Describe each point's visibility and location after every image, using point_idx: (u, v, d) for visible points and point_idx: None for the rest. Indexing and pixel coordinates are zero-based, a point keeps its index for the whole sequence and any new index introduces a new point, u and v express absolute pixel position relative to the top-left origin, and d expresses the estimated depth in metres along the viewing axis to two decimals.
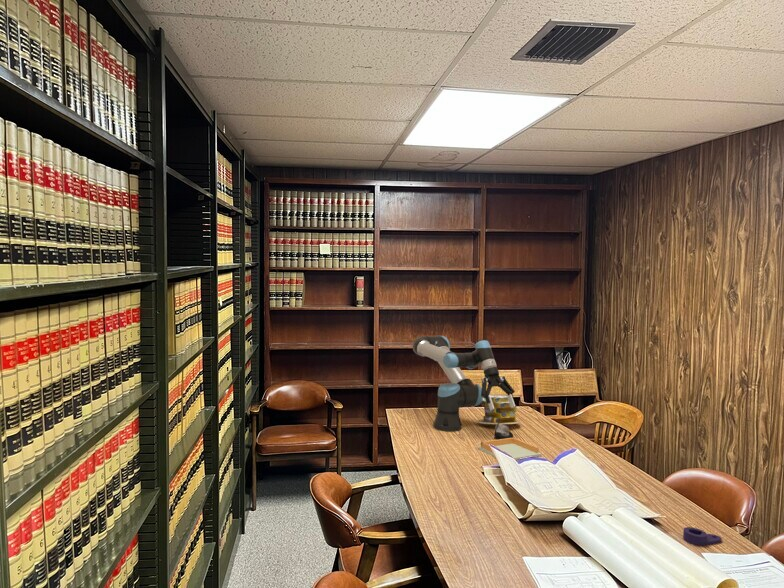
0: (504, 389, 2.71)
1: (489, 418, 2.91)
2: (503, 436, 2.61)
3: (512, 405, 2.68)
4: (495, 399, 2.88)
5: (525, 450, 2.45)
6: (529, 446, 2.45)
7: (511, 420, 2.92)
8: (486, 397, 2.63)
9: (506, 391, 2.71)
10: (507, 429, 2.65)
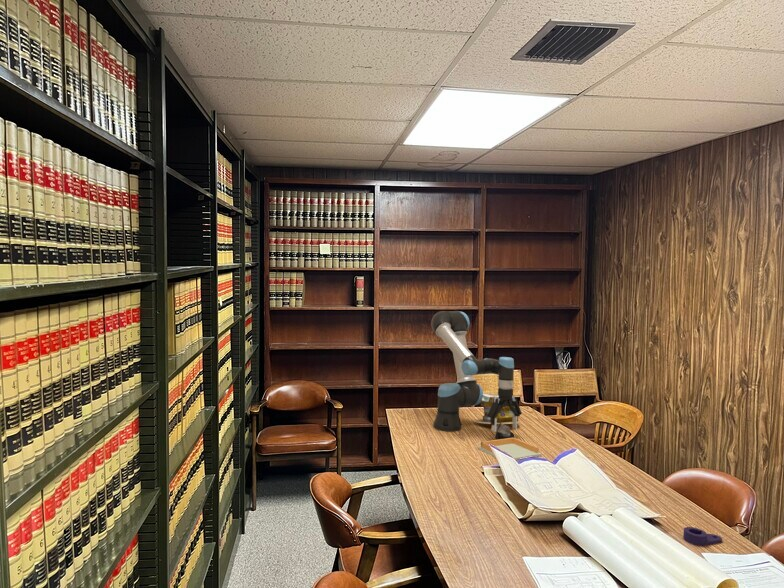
0: (512, 410, 2.68)
1: (488, 418, 2.91)
2: (504, 436, 2.61)
3: (514, 427, 2.68)
4: None
5: (525, 450, 2.45)
6: (529, 446, 2.45)
7: (510, 420, 2.92)
8: (492, 419, 2.61)
9: (513, 412, 2.68)
10: (508, 429, 2.65)
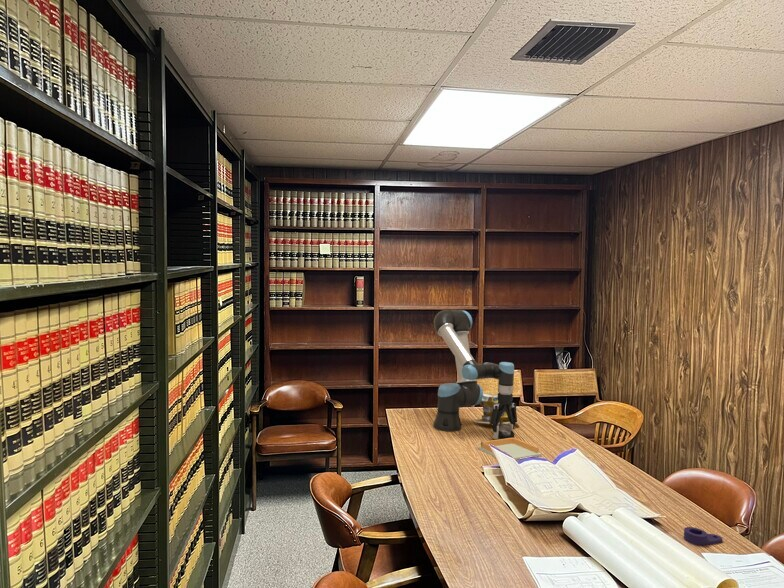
0: (509, 416, 2.67)
1: (487, 417, 2.92)
2: (504, 435, 2.61)
3: None
4: (493, 399, 2.89)
5: (525, 450, 2.45)
6: (529, 446, 2.45)
7: None
8: (494, 426, 2.63)
9: (510, 419, 2.68)
10: (509, 428, 2.65)
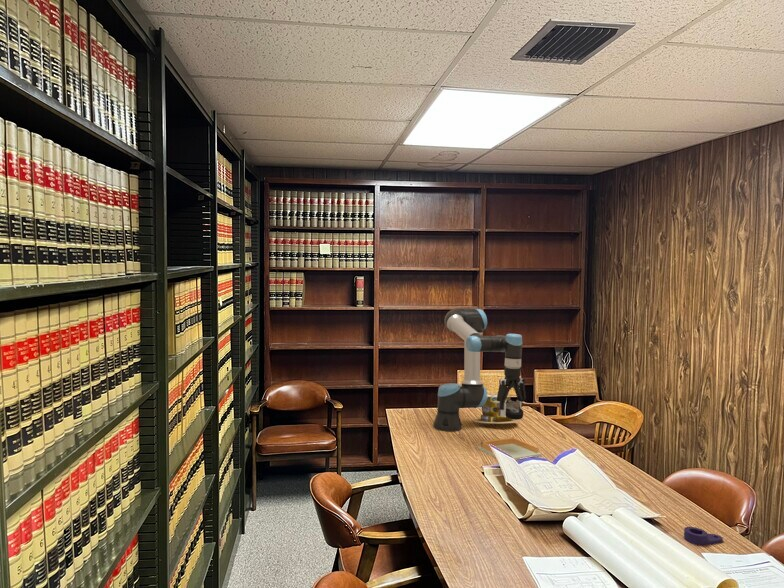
0: (517, 393, 2.45)
1: (486, 417, 2.92)
2: (512, 412, 2.39)
3: None
4: (492, 398, 2.90)
5: (525, 450, 2.45)
6: (529, 446, 2.45)
7: (508, 419, 2.93)
8: (501, 403, 2.41)
9: (518, 396, 2.46)
10: (517, 405, 2.43)
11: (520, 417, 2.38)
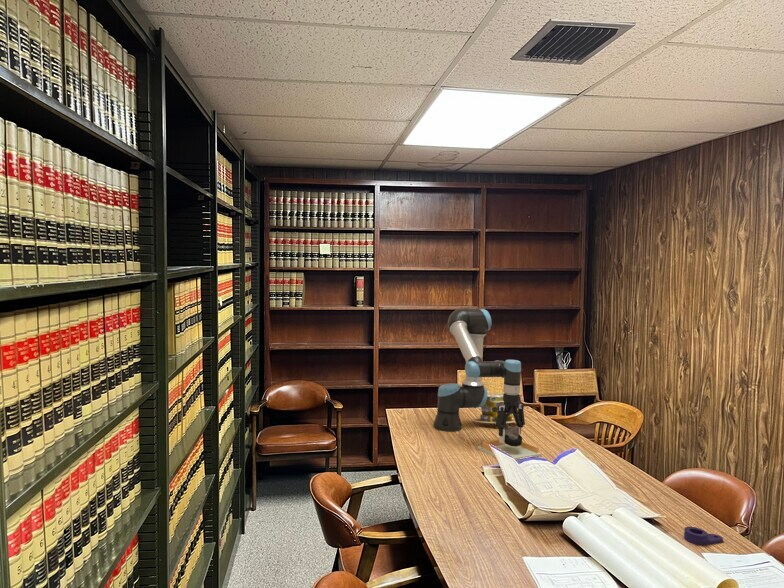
0: (516, 419, 2.46)
1: (485, 417, 2.93)
2: (511, 439, 2.39)
3: None
4: (491, 398, 2.90)
5: (525, 450, 2.45)
6: (529, 446, 2.45)
7: (507, 419, 2.94)
8: (500, 430, 2.41)
9: (517, 421, 2.46)
10: (516, 432, 2.43)
11: (519, 444, 2.39)
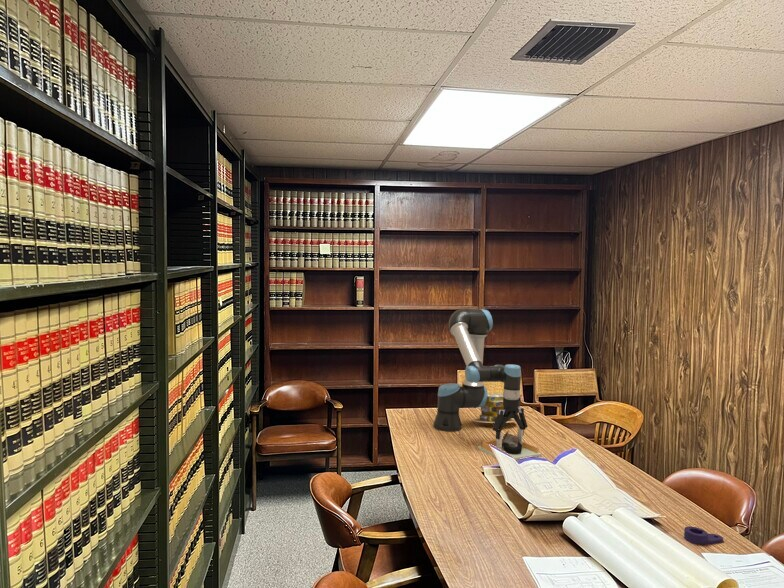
0: (517, 422, 2.46)
1: (485, 417, 2.93)
2: (510, 447, 2.39)
3: (519, 441, 2.47)
4: (491, 398, 2.90)
5: (525, 450, 2.45)
6: (529, 446, 2.45)
7: None
8: (497, 433, 2.40)
9: (519, 424, 2.47)
10: (516, 439, 2.43)
11: (519, 451, 2.39)
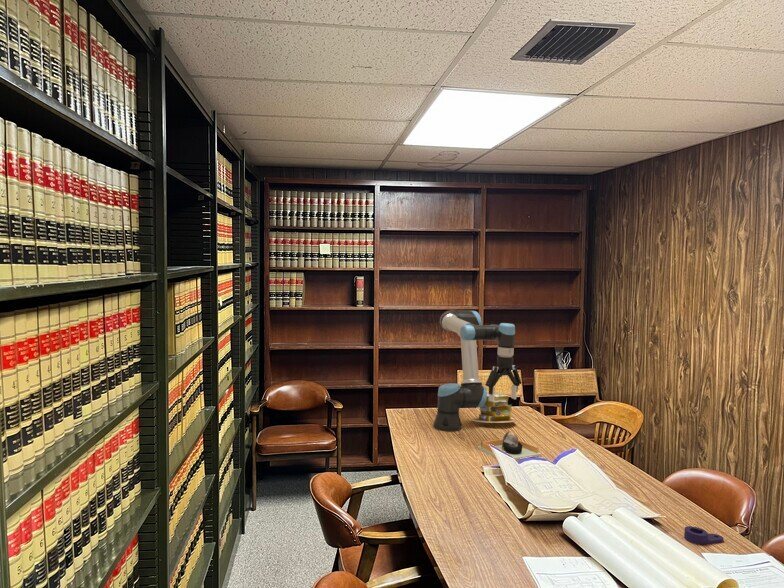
0: (511, 379, 2.53)
1: (484, 416, 2.94)
2: (511, 447, 2.39)
3: (513, 397, 2.54)
4: None
5: (525, 450, 2.45)
6: (529, 446, 2.45)
7: (506, 419, 2.94)
8: (490, 388, 2.46)
9: (513, 381, 2.53)
10: (516, 439, 2.43)
11: (519, 452, 2.39)
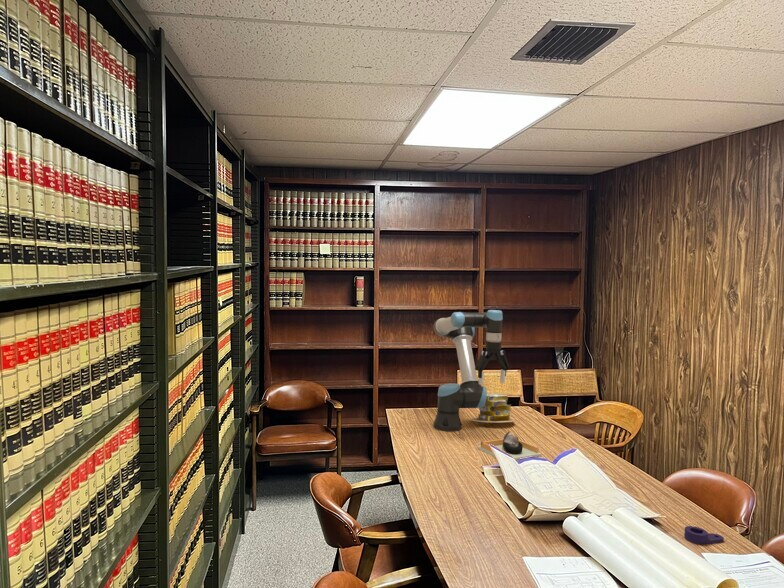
0: (500, 364, 2.63)
1: (483, 416, 2.94)
2: (511, 447, 2.39)
3: (502, 381, 2.64)
4: (489, 397, 2.91)
5: (525, 450, 2.45)
6: (529, 446, 2.45)
7: (505, 418, 2.95)
8: (479, 372, 2.57)
9: (501, 366, 2.64)
10: (516, 439, 2.43)
11: (519, 452, 2.39)
